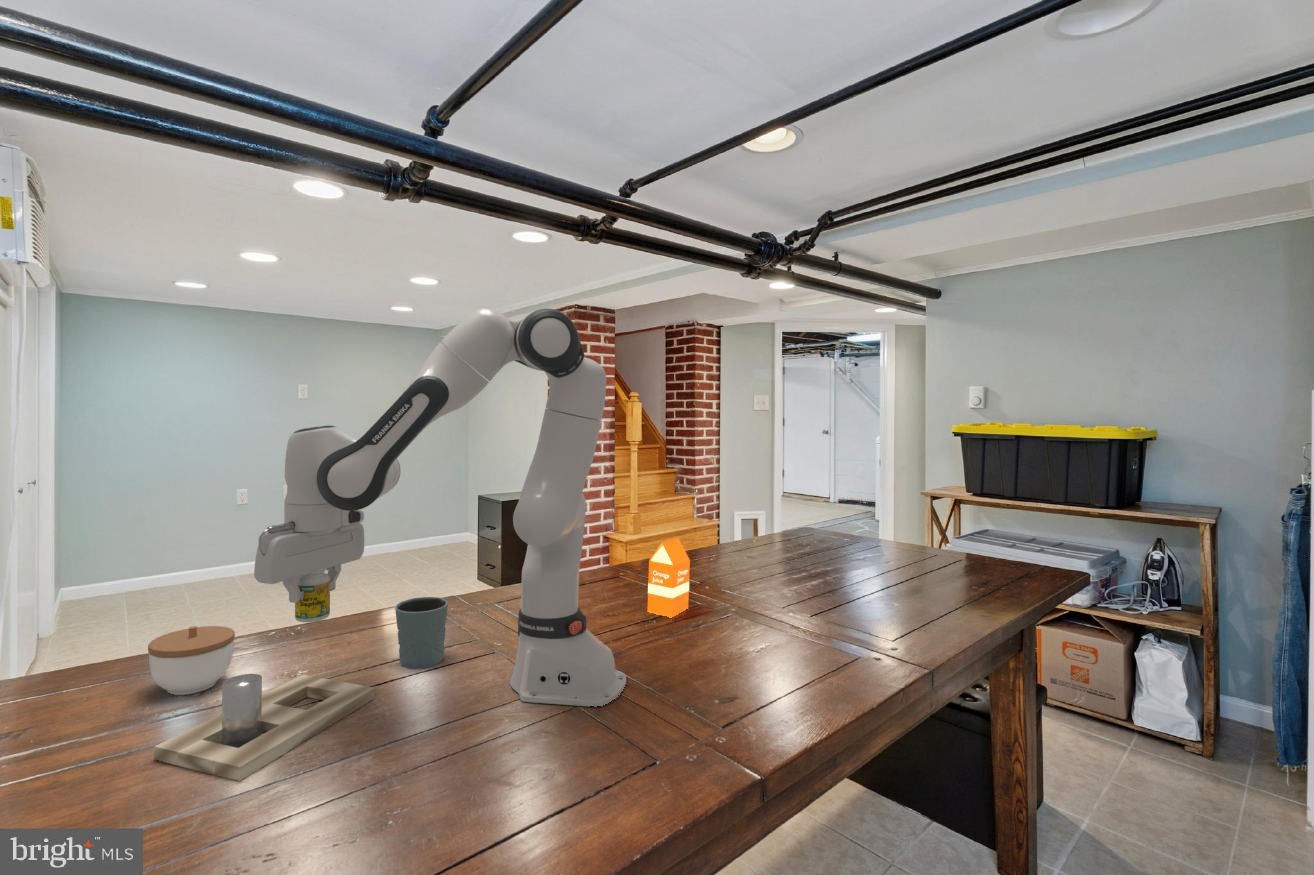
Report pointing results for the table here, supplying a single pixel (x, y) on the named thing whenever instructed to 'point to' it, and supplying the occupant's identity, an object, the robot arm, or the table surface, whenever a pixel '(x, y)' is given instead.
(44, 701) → the table surface
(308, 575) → the supplement bottle
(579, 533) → the robot arm
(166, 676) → the lidded bowl
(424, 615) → the blue-grey cup
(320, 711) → the pin board
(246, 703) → the steel pin
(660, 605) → the orange juice
